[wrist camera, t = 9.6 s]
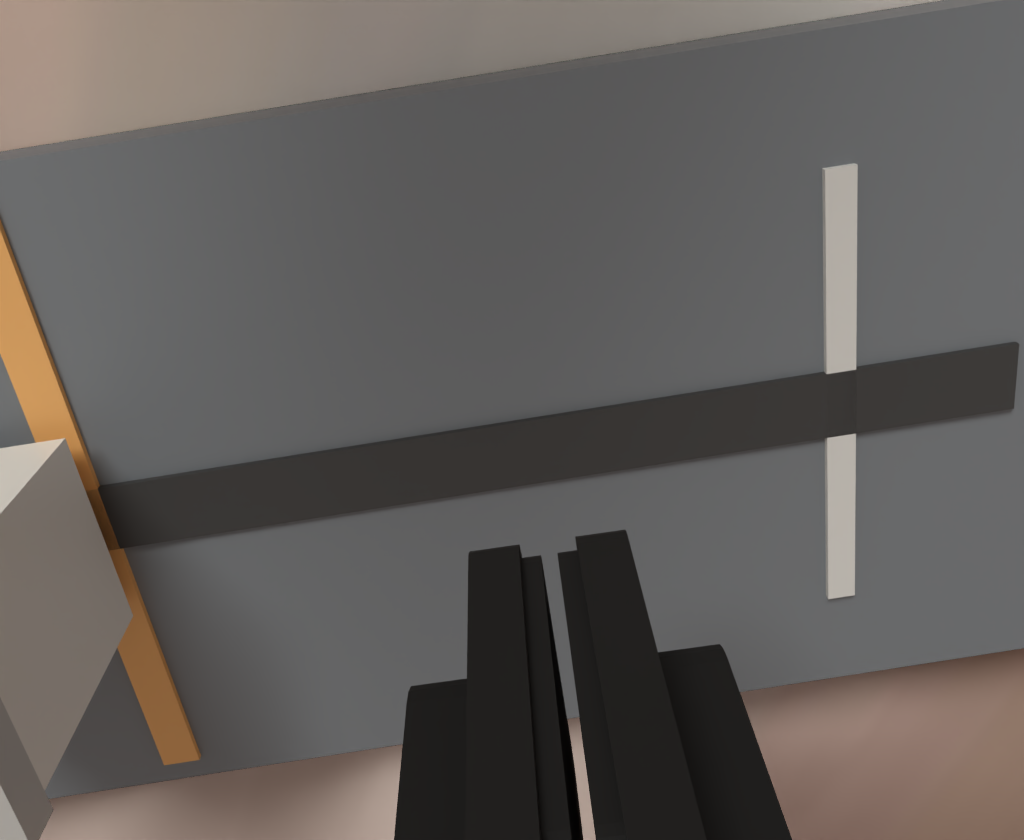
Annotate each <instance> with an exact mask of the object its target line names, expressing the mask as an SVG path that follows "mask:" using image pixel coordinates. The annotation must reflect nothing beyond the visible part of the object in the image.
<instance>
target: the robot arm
mask: <svg viewBox="0 0 1024 840" xmlns="http://www.w3.org/2000/svg"><path fill="white" fill-rule="evenodd" d="M575 539H576V547H577V550H574V551H567V552H560V553H557V555H558V562H559V570H560V577H561V584H562V592H563V599H564V606H565V614H566V621H567V629H568V636H569V643H570V651H571V658H572V665H573V673H574V680H575V688H576V695H577V702H578V710H579V717H580V725H581V732H582V739H583V747H584V754H585V761H586V769H587V776H588V784H589V791H590V798H591V806H592V813H593V820H594V828H595V835H596V840H792V838H791V836H790V833H789V830H788V827H787V824H786V821H785V819H784V816H783V813H782V810H781V807H780V805H779V802H778V799H777V796H776V793H775V790H774V788H773V785H772V782H771V779H770V776H769V774H768V771H767V768H766V765H765V762H764V759H763V757H762V754H761V751H760V748H759V745H758V743H757V740H756V737H755V734H754V731H753V728H752V726H751V723H750V720H749V717H748V714H747V711H746V709H745V706H744V703H743V700H742V697H741V695H740V692H739V689H738V686H737V683H736V680H735V678H734V675H733V672H732V669H731V666H730V664H729V661H728V658H727V656H726V653H725V651H724V649H723V647H722V646H721V645H720V644H716V645H708V646H701V647H694V648H686V649H679V650H672V651H664V652H658V651H657V647H656V643H655V639H654V635H653V631H652V627H651V624H650V620H649V616H648V612H647V608H646V604H645V600H644V596H643V593H642V589H641V585H640V581H639V577H638V573H637V569H636V566H635V562H634V558H633V554H632V550H631V546H630V542H629V539H628V535H627V532H626V530H618V531H611V532H604V533H597V534H590V535H583V536H576V537H575ZM394 840H583V834H582V826H581V817H580V809H579V801H578V793H577V784H576V776H575V768H574V761H573V754H572V747H571V740H570V734H569V727H568V721H567V715H566V708H565V702H564V696H563V689H562V683H561V677H560V670H559V664H558V658H557V651H556V645H555V639H554V633H553V626H552V620H551V614H550V607H549V601H548V595H547V588H546V582H545V576H544V569H543V563H542V557H541V555H539V556H532V557H525V558H522V554H521V549H520V545H512V546H505V547H498V548H491V549H483V550H476V551H470V552H469V555H468V624H467V679H459V680H452V681H445V682H437V683H430V684H423V685H415V686H411V687H410V689H409V691H408V697H407V704H406V715H405V726H404V737H403V748H402V759H401V770H400V781H399V792H398V803H397V814H396V825H395V836H394Z"/></svg>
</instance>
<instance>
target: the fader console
mask: <svg viewBox="0 0 1024 840" xmlns="http://www.w3.org/2000/svg"><path fill="white" fill-rule="evenodd" d="M63 438H65V439H66V441H67V444H68V446H69V449H70V452H71V454H72V457H73V460H74V462H75V465H76V467H77V470H78V473H79V475H80V478H81V480H82V483H83V486H84V488H85V491H86V494H87V496H88V499H89V501H90V504H91V507H92V509H93V512H94V514H95V517H96V520H97V522H98V525H99V527H100V530H101V533H102V535H103V538H104V541H105V543H106V546H107V548H108V551H109V554H110V556H111V559H112V561H113V564H114V567H115V569H116V572H117V575H118V577H119V580H120V582H121V585H122V588H123V590H124V593H125V595H126V598H127V601H128V603H129V606H130V608H131V611H132V614H133V617H132V619H131V621H130V623H129V625H128V627H127V629H126V631H125V633H124V635H123V637H122V639H121V641H120V643H119V645H118V647H117V649H116V651H115V653H114V655H113V657H112V659H111V661H110V663H109V665H108V667H107V669H106V671H105V673H104V675H103V677H102V679H101V681H100V683H99V685H98V687H97V688H96V690H95V692H94V694H93V696H92V698H91V700H90V702H89V704H88V706H87V708H86V710H85V712H84V714H83V716H82V718H81V720H80V722H79V724H78V726H77V728H76V730H75V732H74V734H73V736H72V738H71V740H70V742H69V744H68V746H67V748H66V750H65V752H64V754H63V756H62V758H61V760H60V762H59V764H58V766H57V768H56V770H55V772H54V773H53V775H52V777H51V779H50V781H49V783H48V785H47V787H46V789H45V793H46V795H47V797H48V799H51V798H58V797H64V796H71V795H77V794H84V793H90V792H97V791H103V790H110V789H116V788H123V787H129V786H135V785H142V784H148V783H155V782H161V781H168V780H174V779H181V778H187V777H194V776H200V775H207V774H213V773H220V772H226V771H233V770H239V769H246V768H252V767H258V766H265V765H271V764H278V763H284V762H291V761H297V760H304V759H310V758H317V757H323V756H330V755H336V754H343V753H349V752H356V751H362V750H368V749H375V748H381V747H388V746H394V745H401V744H403V737H404V726H405V715H406V704H407V697H408V691H409V689H410V687H411V686H415V685H423V684H430V683H437V682H445V681H452V680H459V679H467V624H468V555H469V552H470V551H476V550H483V549H491V548H498V547H505V546H512V545H520V549H521V554H522V558H525V557H532V556H539V555H541V557H542V563H543V569H544V576H545V582H546V588H547V595H548V601H549V607H550V614H551V620H552V626H553V633H554V639H555V645H556V651H557V658H558V664H559V670H560V677H561V683H562V689H563V696H564V702H565V708H566V715H567V719H569V718H576V717H579V710H578V702H577V695H576V688H575V680H574V673H573V665H572V658H571V651H570V643H569V636H568V629H567V621H566V614H565V606H564V599H563V592H562V584H561V577H560V570H559V562H558V555H557V553H560V552H567V551H574V550H577V547H576V539H575V537H576V536H583V535H590V534H597V533H604V532H611V531H618V530H626V532H627V535H628V539H629V542H630V546H631V550H632V554H633V558H634V562H635V566H636V569H637V573H638V577H639V581H640V585H641V589H642V593H643V596H644V600H645V604H646V608H647V612H648V616H649V620H650V624H651V627H652V631H653V635H654V639H655V643H656V647H657V651H658V652H664V651H672V650H679V649H686V648H694V647H701V646H708V645H716V644H720V645H721V646H722V647H723V649H724V651H725V653H726V656H727V658H728V661H729V664H730V666H731V669H732V672H733V675H734V678H735V680H736V683H737V686H738V689H739V692H744V691H750V690H757V689H763V688H770V687H776V686H783V685H789V684H796V683H802V682H809V681H815V680H821V679H828V678H834V677H841V676H847V675H854V674H860V673H867V672H873V671H880V670H886V669H893V668H899V667H906V666H912V665H919V664H925V663H931V662H938V661H944V660H951V659H957V658H964V657H970V656H977V655H983V654H990V653H996V652H1003V651H1009V650H1016V649H1022V648H1024V0H943V1H937V2H931V3H924V4H918V5H912V6H906V7H899V8H893V9H887V10H881V11H875V12H868V13H862V14H856V15H850V16H843V17H837V18H831V19H825V20H819V21H812V22H806V23H800V24H794V25H787V26H781V27H775V28H769V29H762V30H756V31H750V32H744V33H738V34H731V35H725V36H719V37H713V38H706V39H700V40H694V41H688V42H681V43H675V44H669V45H663V46H657V47H650V48H644V49H638V50H632V51H625V52H619V53H613V54H607V55H600V56H594V57H588V58H582V59H576V60H569V61H563V62H557V63H551V64H544V65H538V66H532V67H526V68H520V69H513V70H507V71H501V72H495V73H488V74H482V75H476V76H470V77H463V78H457V79H451V80H445V81H439V82H432V83H426V84H420V85H414V86H407V87H401V88H395V89H389V90H382V91H376V92H370V93H364V94H358V95H351V96H345V97H339V98H333V99H326V100H320V101H314V102H308V103H302V104H295V105H289V106H283V107H277V108H270V109H264V110H258V111H252V112H245V113H239V114H233V115H227V116H221V117H214V118H208V119H202V120H196V121H189V122H183V123H177V124H171V125H164V126H158V127H152V128H146V129H140V130H133V131H127V132H121V133H115V134H108V135H102V136H96V137H90V138H83V139H77V140H71V141H65V142H59V143H52V144H46V145H40V146H34V147H27V148H21V149H15V150H9V151H3V152H0V448H6V447H12V446H18V445H25V444H31V443H37V442H44V441H50V440H56V439H63Z"/></svg>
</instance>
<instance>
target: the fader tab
mask: <svg viewBox="0 0 1024 840" xmlns="http://www.w3.org/2000/svg"><path fill="white" fill-rule="evenodd" d="M132 617H133V614H132V611H131V608H130V606H129V603H128V601H127V598H126V595H125V593H124V590H123V588H122V585H121V582H120V580H119V577H118V575H117V572H116V569H115V567H114V564H113V561H112V559H111V556H110V554H109V551H108V548H107V546H106V543H105V541H104V538H103V535H102V533H101V530H100V527H99V525H98V522H97V520H96V517H95V514H94V512H93V509H92V507H91V504H90V501H89V499H88V496H87V494H86V491H85V488H84V486H83V483H82V480H81V478H80V475H79V473H78V470H77V467H76V465H75V462H74V460H73V457H72V454H71V452H70V449H69V446H68V444H67V441H66V439H65V438H63V439H56V440H50V441H44V442H37V443H31V444H25V445H18V446H12V447H6V448H0V840H39V838H40V836H41V834H42V832H43V830H44V828H45V826H46V824H47V822H48V820H49V818H50V816H51V814H52V812H53V807H52V805H51V803H50V801H49V799H48V797H47V795H46V793H45V789H46V787H47V785H48V783H49V781H50V779H51V777H52V775H53V773H54V772H55V770H56V768H57V766H58V764H59V762H60V760H61V758H62V756H63V754H64V752H65V750H66V748H67V746H68V744H69V742H70V740H71V738H72V736H73V734H74V732H75V730H76V728H77V726H78V724H79V722H80V720H81V718H82V716H83V714H84V712H85V710H86V708H87V706H88V704H89V702H90V700H91V698H92V696H93V694H94V692H95V690H96V688H97V687H98V685H99V683H100V681H101V679H102V677H103V675H104V673H105V671H106V669H107V667H108V665H109V663H110V661H111V659H112V657H113V655H114V653H115V651H116V649H117V647H118V645H119V643H120V641H121V639H122V637H123V635H124V633H125V631H126V629H127V627H128V625H129V623H130V621H131V619H132Z"/></svg>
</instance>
